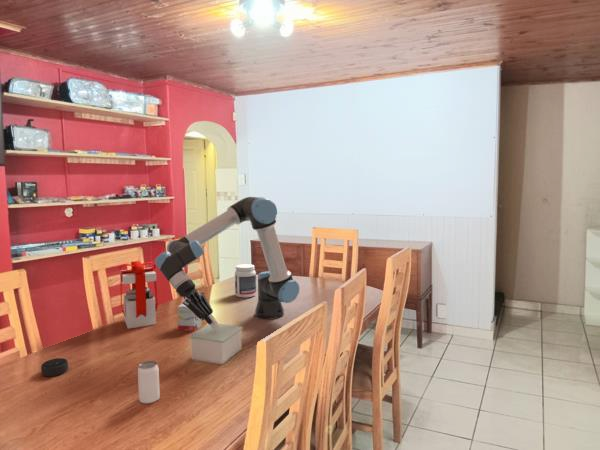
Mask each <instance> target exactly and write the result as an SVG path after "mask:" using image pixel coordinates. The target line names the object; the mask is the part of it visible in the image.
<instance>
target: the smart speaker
mask: <svg viewBox="0 0 600 450" xmlns="http://www.w3.org/2000/svg"><path fill="white" fill-rule="evenodd" d="M40 370H41V371H40V372H41V375H43V376H44V377H56V376H60V375H63V374H64V373H66V372H67V371H68V370H69V361H68V360H67V359H66V358H61V357H59V358H58V357H57V358H56V357H55V358H52V359H48V360H46V361H44V362H42V364H41V366H40Z"/></svg>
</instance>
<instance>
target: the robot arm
mask: <svg viewBox="0 0 600 450" xmlns="http://www.w3.org/2000/svg"><path fill="white" fill-rule="evenodd" d="M277 215H278V208H277V206H276V204H275V202H274V201H272V200H271V199H269V198H267V197H261V196H260V197H259V196H257V197H256V196H247V197H245V198H242V199H240V200H239V201H237V202H234V203H233V204H232V205H230V206H228V207H227V210H226V211H224V212H223V213H220V214H219V215H218V216H216V217H213V219H211V220H209V221H207V222H206V223H204V224H203V225H201V226H199V227H197V228H196V229H194V230H192V231H191V232H189V233H187V234H186V235H184V236H182V237H180V238H179V239H174V240H171V241H169V242H168V244H167V246H166V251H164V252H162V253H160V254H159V255H157V257H156V258H155V260H154V264H155V265H156V268H158V269H159V272H161V274H162V275H163V276H164V278H166V280H167V282H169V284H171V286H172V287H173V289H174V290H175V292H176V293H177V294H178V296H179V298H180V297H181V298H183V299H184V301H183V302H182V304H184V305H185V306H187V307H188V308H189V309H190V310H191V311H192V312H193V313H194V314H195V315H196V316H197V317H198V318H199V319H201V321H205V322H206V323H207V325H208V324H209V325H210V326H211V328H212V329H213V330H214V331H216V330H217V329H218V328H220V327H221V326H220V325H219V324H220V323H218V321H217V320H216V318H215V317H214V316H213V312H214V311H213V308H212V307H211V305H210V303H209V301H208V300H207V298H206V296H205V293H204V292H199V291H198V290H197V289H196V284H195V282H193V280H192V279H190V276H189V275H188V274H187V273H186V271H185V270H184V268H185V267H187V266H188V265H189V264H192V263H193V262H194V261H196V260H197V259H199V258H200V257H201V256H203V255H204V248H203V247H202V245H204V244H205V243H207V242H208V241H210V240H212V239H213V238H215V237H217V236H218V235H220V234H221V233H223V232H225V231H227V230H228V229H230V228H231V227H233V226H235V225H240V224H242V223H244V222H250V224H251V228H252V230H254V231H255V232H256V234H257V236H258V239H259V244H260V245H261V249H262V251H263V252H262V253H263V256H264V259H265V262H266V266H267V268H268V270H267V271H261V272H259V273H258V275H257V297H258V298H257V304H256V305H255V306H256V307H255V310H254V315H255V317H256V318H258V319H262V320H263V319H264V320H270V319H271V320H274V319H279V318H281V317H283V316H284V314H285V313H284V312H285V311H284V310H285V309H284V306H283V304H282V303H285V304H290V303H292V302H294V301H295V300H296V299H297V297H298V295H299V293H300V285H299V283H298V282H297V281H296V280H294V277H293V275H292V272H291V271H290V270H288V268H287V266H286V262H285V257H284V255H283V253H282V249H281V245H280V242H279V238H278V236H277V231H276V229H275V228H276V227H275V225H276V223H277V220H276V219H277Z"/></svg>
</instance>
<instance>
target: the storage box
mask: <svg viewBox="0 0 600 450" xmlns="http://www.w3.org/2000/svg"><path fill="white" fill-rule="evenodd" d="M190 343H191V344H190V345H191V346H190V351H191V360H192V361H197V362H203V363H208V364H209V363H210V364H216V365H225V364H226V363H227V362H229V360H231V359H232V358H233V357H234V356H235V355H237V354H238V353H239V352H240V351H241V349H242V330H240V331H239V332H238V333H236V334H235V335H233V336H232V337H231V338H229V339H228V340H226V341H225V342H224V343H220V342H214V341H208V340H201V339H195V338H190ZM231 357H232V358H231ZM225 362H226V363H225Z"/></svg>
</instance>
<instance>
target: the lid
mask: <svg viewBox="0 0 600 450" xmlns="http://www.w3.org/2000/svg"><path fill="white" fill-rule="evenodd" d="M218 324H219V325H220V326H221V327H220V328H218V329H217V330H216V331H214V330H213V329H212V328H211V326H210V325H209V324H208V323H207V325H205V326H204V327H202V328H200V329H197V331H194V332H193V333H192V334H190V335H189V338H190V339H191V338H195V339H201V340H208V341H214V342H220V343H224V342H225V341H226V340H228V339H229V338H231V337H232V336H233V335H235V334H236V333H238V332H239V331H240V330H241V331H242V330H243V326H239V325H230V324H226V323H225V324H224V323H218Z"/></svg>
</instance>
